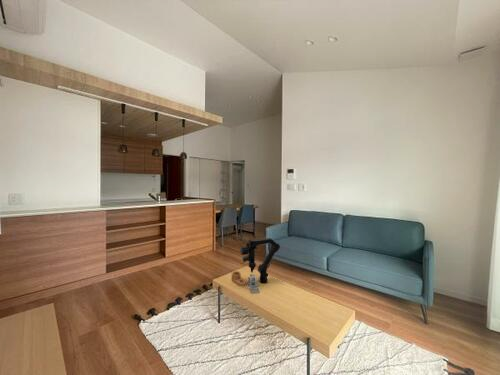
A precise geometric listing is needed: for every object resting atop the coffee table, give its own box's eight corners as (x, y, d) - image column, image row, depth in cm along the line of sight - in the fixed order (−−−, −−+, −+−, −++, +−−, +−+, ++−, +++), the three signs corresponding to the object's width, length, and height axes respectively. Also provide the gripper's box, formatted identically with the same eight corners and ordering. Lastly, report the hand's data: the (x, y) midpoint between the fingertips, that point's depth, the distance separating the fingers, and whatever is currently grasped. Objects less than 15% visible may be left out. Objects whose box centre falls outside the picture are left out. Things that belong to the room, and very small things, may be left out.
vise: (256, 282, 196) (256, 276, 196) (258, 287, 186) (258, 281, 186) (247, 282, 195) (248, 276, 195) (249, 287, 185) (249, 281, 185)
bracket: (230, 279, 200) (230, 272, 199) (237, 277, 205) (237, 270, 205) (241, 287, 186) (241, 280, 185) (248, 285, 191) (248, 277, 191)
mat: (258, 289, 184) (258, 288, 184) (260, 294, 176) (260, 293, 176) (249, 289, 183) (249, 288, 183) (250, 294, 175) (250, 293, 175)
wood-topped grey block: (255, 283, 191) (256, 274, 191) (256, 285, 188) (256, 275, 188) (249, 283, 191) (249, 274, 190) (250, 285, 188) (250, 275, 187)
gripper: (242, 250, 201) (242, 266, 201) (243, 257, 182) (242, 274, 183) (254, 250, 201) (253, 265, 202) (255, 257, 183) (255, 274, 183)
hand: (251, 270), depth 193 cm, fingers open, 9 cm apart
